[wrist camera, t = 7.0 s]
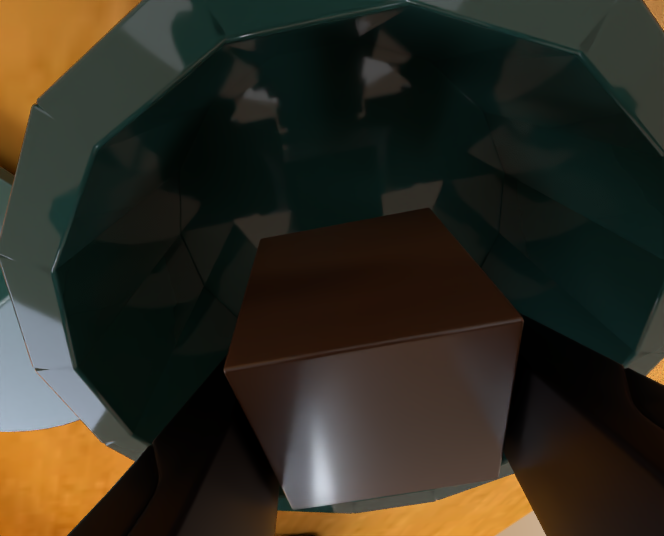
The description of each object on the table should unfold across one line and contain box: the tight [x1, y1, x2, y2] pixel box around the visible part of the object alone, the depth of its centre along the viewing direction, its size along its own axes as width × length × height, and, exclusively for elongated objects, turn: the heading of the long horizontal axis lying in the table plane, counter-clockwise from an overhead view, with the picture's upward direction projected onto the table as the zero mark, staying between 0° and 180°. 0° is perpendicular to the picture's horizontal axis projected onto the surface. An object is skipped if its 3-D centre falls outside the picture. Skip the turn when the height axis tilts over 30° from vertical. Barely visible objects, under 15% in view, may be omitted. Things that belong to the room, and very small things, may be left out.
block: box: [223, 208, 524, 510], centre depth 7 cm, size 4×4×4 cm
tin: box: [0, 0, 664, 514], centre depth 9 cm, size 13×13×6 cm
